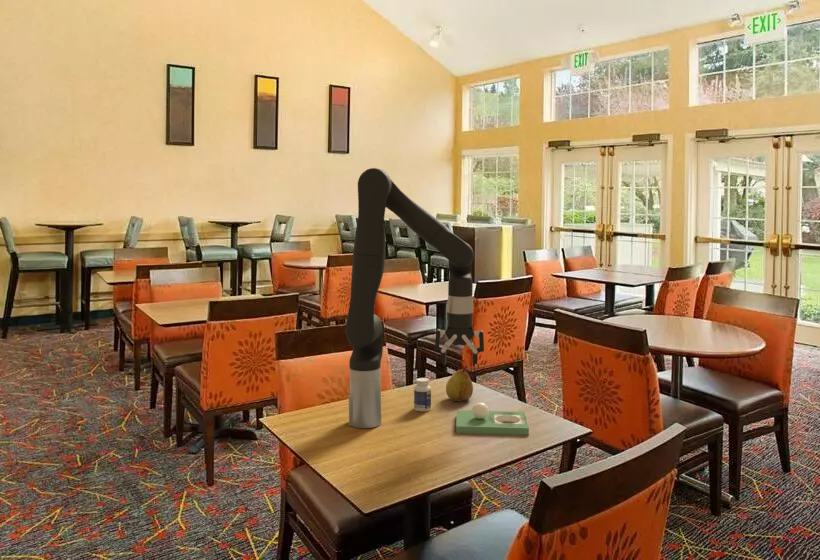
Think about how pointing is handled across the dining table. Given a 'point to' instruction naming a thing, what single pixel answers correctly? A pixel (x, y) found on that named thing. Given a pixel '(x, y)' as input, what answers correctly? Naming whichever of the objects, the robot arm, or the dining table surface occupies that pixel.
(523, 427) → the green flat block
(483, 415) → the ball
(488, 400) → the dining table surface
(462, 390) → the fruit
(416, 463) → the dining table surface
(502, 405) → the dining table surface
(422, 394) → the pill bottle
